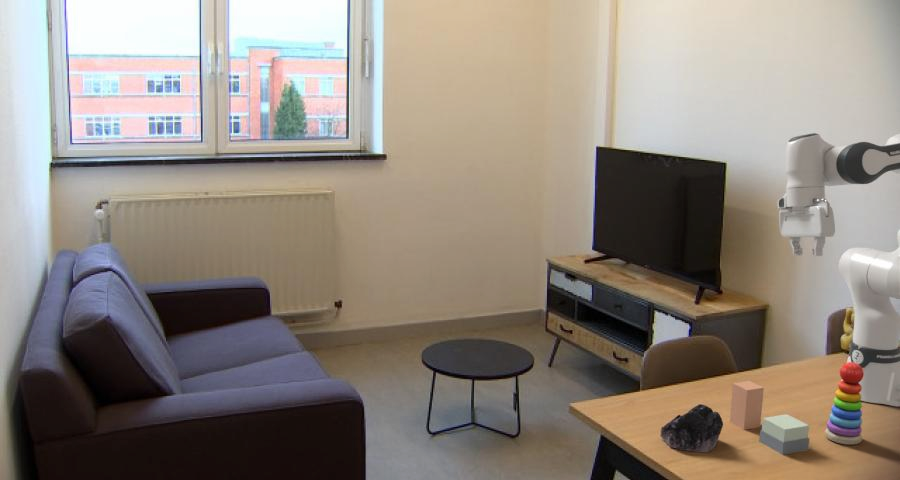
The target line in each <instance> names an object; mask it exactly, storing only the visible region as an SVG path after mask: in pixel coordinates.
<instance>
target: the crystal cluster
mask: <svg viewBox="0 0 900 480" xmlns="http://www.w3.org/2000/svg"><path fill="white" fill-rule="evenodd" d="M723 427H724V422H723V419H722V417H721V415H720V413H719V412H717V411H713V408H711V407H709V406H707V405H705V404H700V403H699V404H698V405H695V406H694V407H692V408H691V409H690V410H689V411H688V412H686V413H684V414H682V415H681V414H678V415H677V416H675V417H673V419H671V420H670V421H669V422H668V423H666V424H665V425H664V426H662V427H661V428H660V437H661V439H663V441H664V442H665V444H666V445H668V446H669V447H670V448H673V449H674V448H675V449H678V450H682V451H687V452H696V453H697V452H702V453H707V452H709V451H712V450H713V449H714V448H715V447H716V444H717V443H718V441H719V439H720V438H719V437H720V435H721V432H722V429H723Z"/></svg>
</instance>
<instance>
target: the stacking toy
mask: <svg viewBox="0 0 900 480" xmlns="http://www.w3.org/2000/svg"><path fill="white" fill-rule="evenodd" d="M839 376H840V378H841V380H843V381H841V380H840V381H839V382H838V383H837V387H838V389H837V390H835V397H834V398H833V405H832V406H831V413H830V414H829V420H828V421H827V423H826V429H825V431H824V434H825V437H827V439H828V440H830V441H832V442H834V443H838V444H841V445H849V446H850V445H851V446H853V445H858V444H860V443H861V442H862V441H863V435H862V429H863V428H862V425H863V419H862V415H863V411H862V410H861V409H862V407H863V403H862V402H861V394H860V393H859V392H860V391H861V390H862V386H861V385H860V384H859V382H860V381H861V380H862V378H863V376H864V372H863V369H862V367H861V366H860V365H859V364H857V363H854V362H848V363H847V362H846V363H844V364H842V365H841V367H840V369H839Z"/></svg>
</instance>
